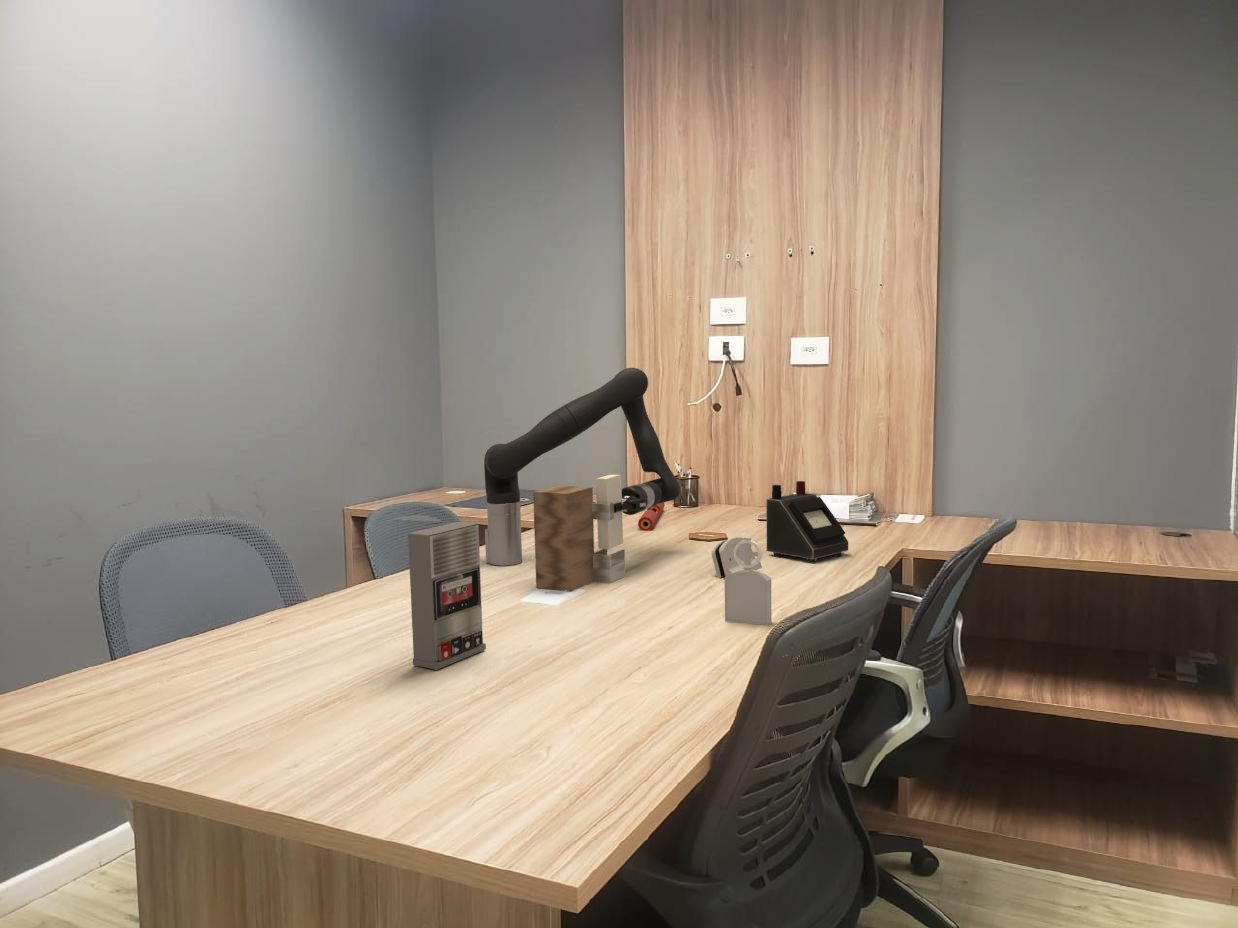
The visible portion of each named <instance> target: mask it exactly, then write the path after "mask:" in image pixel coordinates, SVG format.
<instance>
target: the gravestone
mask: <svg viewBox="0 0 1238 928" xmlns="http://www.w3.org/2000/svg"><path fill="white" fill-rule="evenodd" d="M743 538H744V540H742V541H740V542H739V543H738V544H737V545H736V546H735V548H734V558H735V560H736V562H737V563H738V564H739V565H740V566H742V567H744V569H740V570H736V571H734V572H732V573H730V574H729V575H727V576H723V577H724V581H723V582H724V622H732V621H733V623H743V624H751V623H752V625H753V624H754V625H761V624H765V625H764V626H769V625H770V624H771V623H772V577H770V575H768V574H767V573H765V572H763V571H760V570H753V569H751V567H753V566H755V565H757V564H758V563H759V562H760V563H761V560H762V557H763V556H762V555H763V550H762V548H761V546H760V545H759V543H757V541H754V540H752V537H751V536H749V537H748V536H745V537H743ZM743 543H744V551H738V548H739V546H740V545H741V544H743ZM752 546H753V547H754V548H755V550H756V551H753V550H752V551H753V552H752V551H751V549H752ZM738 555H741V556H744V562H742V561H741V560H740V558H739V557H738ZM751 556H755V558H756V559H757V560H756V562H755V563H753V564H751Z"/></svg>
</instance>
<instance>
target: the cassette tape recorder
mask: <svg viewBox="0 0 1238 928" xmlns="http://www.w3.org/2000/svg"><path fill="white" fill-rule="evenodd" d="M479 528H480V527H479V523H475V522H464V521H456V522H451V523H447V524H443V525H439V526H433V527H429V528H426V529H425V528H424V529H420V530H416V531H411V532H408V533H407V539H408V558H409V559H408V560H409V581H410V602H411V604H410V606H411V624H412V625H411V627H412V628H411V630H412V631H411V632H412V649H413V650H412V651H413V652H412V653H413V654H412V655H413V658H412V666H416V667H421V668H425V669H426V668H427V669H431V670H433V671H440V669H442V668H444V667H446V666H449V665H452V664H454V663H456V662H458V661H461V660H464V659H467V658H469V657H470V656H474V655H475V654H478V653H480V652H481V653H482V652H484V651H485V650H487V645H486V644H487V643H484V641H483V613H482V611H483V610H482V585H481V582H482V580H481V560H480V559H481V557H480V533H479V532H480V531H479Z"/></svg>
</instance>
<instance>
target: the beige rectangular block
mask: <svg viewBox="0 0 1238 928" xmlns="http://www.w3.org/2000/svg"><path fill="white" fill-rule="evenodd" d="M595 485H596V491H595V492H596V503H599V504H609V503H614V504H615V503H619V502H620V501H622V475H621V474H608V475H605V476H603V475H602V476H600V477H596V478H595ZM596 521H597V545H598V546H597V547H598V548H597V549H599V550H602V549H607V550H611V549H613V548H615V547H618V546H620V545H624V537H623V536H624V533H623V531H624V529H623V512H621V511H619V512H616V513H614V519H612V520H597V519H596Z"/></svg>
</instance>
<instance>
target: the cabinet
mask: <svg viewBox="0 0 1238 928" xmlns="http://www.w3.org/2000/svg"><path fill="white" fill-rule="evenodd" d="M593 491H594V489H593V487H592V486H589V487H588V486H569V485H555V486H552V487H548V488H544V489H539V490H536V491H533V492H532V496H533V500H532V501H533V522H534V525H533V527H534V528H533V529H534V553H535V554H534V557H535V559H534V560H535V588H536V589H544V590H545V589H546V590H551V591H561V590H567V591H566V592H574V591H576V590H577V589H580V588H582V587H585V586H586V585H589V584H591V583H593V582H594V583H596V582H597V583H605V584H607V583H608V584H612V583H614V582H616V581H618V580H620V579H622V578H625V577H626V555H625V554H626V553H625V549H620V550H618V551H616V552H614V553H611V554H608V549H599V550H597V551H595V538H594V537H595V535H594V534H595V533H594V532H595V531H594V529H595V528H594V527H595V526H594V520H596V521H597V520H612V519H614V503H609V504H599V503H597V501H594V495H593V494H594V492H593Z"/></svg>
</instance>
